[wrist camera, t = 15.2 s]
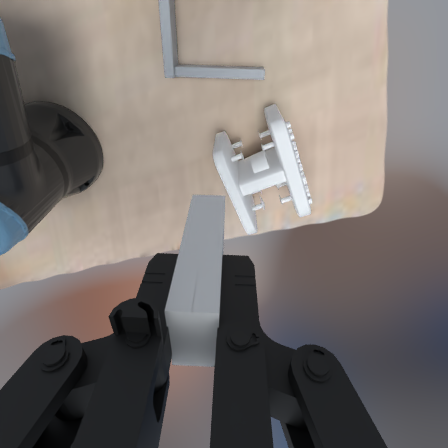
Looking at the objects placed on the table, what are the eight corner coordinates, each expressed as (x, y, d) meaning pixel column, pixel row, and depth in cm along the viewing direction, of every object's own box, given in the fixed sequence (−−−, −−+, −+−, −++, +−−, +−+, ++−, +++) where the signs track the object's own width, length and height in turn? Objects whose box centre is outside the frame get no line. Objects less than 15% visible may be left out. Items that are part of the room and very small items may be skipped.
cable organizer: (212, 125, 45) (207, 152, 36) (277, 98, 43) (289, 119, 33) (245, 201, 53) (248, 240, 43) (301, 182, 50) (317, 219, 41)
